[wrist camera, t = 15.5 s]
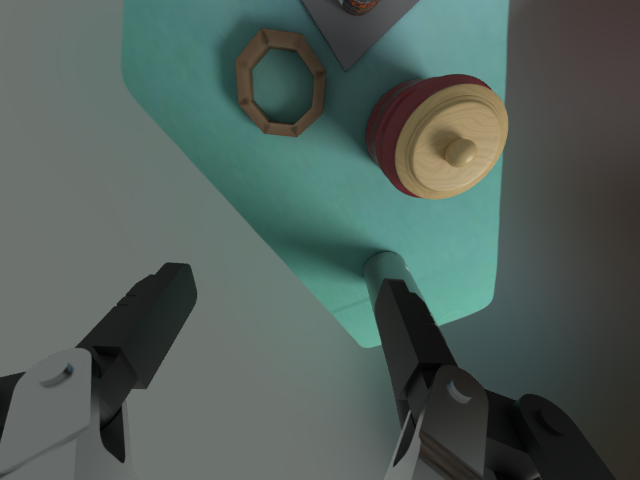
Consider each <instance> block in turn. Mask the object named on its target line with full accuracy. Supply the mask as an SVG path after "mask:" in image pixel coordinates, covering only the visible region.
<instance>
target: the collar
mask: <svg viewBox="0 0 640 480" xmlns="http://www.w3.org/2000/svg"><path fill="white" fill-rule="evenodd" d="M270 48H271V49H278V50H286V51H294V52H298V54H299V55H300V57H301V58H302V60H303V61H304V63H305V64H306V66H307V67H308V69H309V70H310V71H311V73H312V74H313V76H314V87H313V102H312V107H311V108H310V109H309V110H308V111H307V112H306V113H305V114H304V115H303V116H302V117H301V118H300V119H299V120H298V121H297V122H296V123H295V124H294V123H285V122H276V121H271V120H270V119H269V118H268V116H267V115H266V114H265V113H264V112H263V110H262V109H261V108H260V107H259V106H258V104H257V103H256V102H255V101H254V97H253V76H252V69H253V68H254V67H255V66H256V65H257V63H258V62H259V61H260V60H261V59H262V58H263V56H264V55H265V54H266V53H267V52H268V51H269V49H270ZM235 64H236V77H237V90H238V103H239V105H240V106H241V108H242V109H243V110H244V111H245V112H246V113H247V114H248V116H249V117H250V118H251V119H252V120H253V121H254V122H255V124H256V125H257V126H258V127H259V128H260V129H261V131H262V132H263V133H264V134H272V135H281V136H290V137H298V136H299V135H300V134H301V133H302V132H303V131H304V130H305V129H306V128H308V127H309V126H310V125H311V124H312V123H313V122H314V121H315V120H316V119H317V118H318V117H319V116H320V115H322V112H323V101H324V90H325V80H326V71H325V69H324V68H323V66H322V64H321V63H320V61H319V60H318V58H317V57H316V55H315V54H314V52H313V51H312V49H311V47H310V46H309V44H308V43H307V41H306V40H305V38H304V37H303V35H302V34H300V33H293V32H286V31H278V30H271V29H264V28H261V29H260V30H259V32H258V33H257V34H256V35H255V37H254V38H253V39H252V40H251V42H250V43H249V44H248V45H247V46H246V48H245V49H244V50H243V51H242V53H241V54H240V55H239V56H238V57H237V59H236V60H235Z"/></svg>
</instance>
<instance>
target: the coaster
mask: <svg viewBox="0 0 640 480" xmlns="http://www.w3.org/2000/svg"><path fill="white" fill-rule="evenodd" d="M418 1H419V0H380V1H379V3H378V4H377V5H376V6H375V8H373V9H372V10H371V11H370V12H368V13H367V14H364V15H361V16H354V15H351V14H349V13H347V12H346V11H345V10H343V8H342V7H341V6H340V4H339V2H338V0H302V2H303V4H304V5H305V7H306V8H307V10H308V12H309V13H310V15H311V17H312V18H313V20H314V22H315V23H316V25H317V27H318V28H319V30H320V31H321V33H322V35H323V36H324V38H325V40H326V41H327V43H328V45H329V46H330V48H331V49H332V51H333V53H334V54H335V56H336V58H337V59H338V61H339V63H340V64H341V66H342V67H343V69H344V71H345V72H346V71H347V70H348V69H349V68H350V67H351V66H352V65H353V64H354V63H355V62H356V61H357V60H358V59H359V58H360V57H361V56H362V55H363V54H364V53H365V52H366V51H367V50H368V49H370V48H371V47H372V46H373V45H374V44H375V43H376V42H377V41H378V40H379V39H380V38H381V37H382V36H383V35H384V34H385V33H386V32H387V31H388V30H389V29H390V28H391V27H392V26H393V25H394V24H395V23H396V22H398V21H399V20H400V19H401V18H402V17H403V16H404V15H405V14H406V13H407V12H408V11H409V10H410V9H411V8H412V7H413V6H414V5H415V4H416V3H417V2H418Z"/></svg>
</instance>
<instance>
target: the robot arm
mask: <svg viewBox="0 0 640 480" xmlns="http://www.w3.org/2000/svg"><path fill="white" fill-rule="evenodd" d="M363 273H364V277H365V281H366V285H367V289H368V293H369V297H370V301H371V305H372V308H373V312H374V316H375V320H376V324H377V328H378V331H379V335H380V339H381V343H382V347H383V350H384V354H385V358H386V361H387V365H388V369H389V373H390V377H391V382H392V386H393V391H394V395H395V401H396V406H397V410H398V415H399V421H400V425H401V430H402V432H401V435H400V438H399V441H398V444H397V446H396V450H395V452H394V455H393V458H392V461H391V464H390V467H389V469H388V471H387V474H386V476H385V477H384V479H383V480H541V479H540V478H539V476H541V478H542V480H616V479H615V477H614V476H613V475H612V473H611V472H610V471H609V469H608V468H607V467H606V465H605V464H604V463H603V461H602V460H601V459H600V457H599V456H598V454H597V453H596V452H595V450H594V449H593V447H592V446H591V445H590V443H589V442H588V441H587V439H586V438H585V437H584V435H583V434H582V433H581V431H580V430H579V428H578V427H577V426H576V424H575V423H574V422H573V421H572V420H571V418H570V417H569V416H568V415H567V414H566V413H564V412H563V411H562V410H561V409H560V408H559V407H558V406H556V405H555V404H553V403H552V402H550V401H549V400H547V399H545V398H543V397H541V396H538V395H534V394H525V395H523V396H522V397H521V398H519V399H518V400H517V401H516V400H513V399H510V398H507V397H505V396H502V395H499V394H496V393H494V392H491V391H489V390H486V389H484V388H483V386H482V385H481V384H480V383H479V382H478V381H477V380H476V379H475V378H474V377H473V376H472V375H471V374H470V373H468V372H467V371H465V370H464V369H462V368H460V367H458V365H457V364H456V362H455V360H454V358H453V356H452V354H451V352H450V350H449V348H448V346H447V344H446V341H445V338H444V336H443V334H442V332H441V330H440V329H439V327H438V325H437V323H436V321H435V319H434V317H433V315H432V313H431V312H430V310H429V308H428V306H427V304H426V302H425V300H424V298H423V296H422V294H421V292H420V290H419V288H418V286H417V285H416V283H415V281H414V279H413V277H412V275H411V273H410V271H409V269H408V267H407V265H406V263H405V261H404V259H403V258H402V257H401V256H400V255H398V254H396V253H393V252H381V253H378V254H376V255H374V256H372V257H371V258H369V259H368V260H367V261H366V263H365V265H364V268H363ZM196 300H197V289H196V286H195V281H194V277H193V274H192V270H191V267H190V265H189V264H184V263H165V264H164V265H163V266H162V267H161V268H160V270H159V271H158V272H157V273H156V274H155V275H149V276H147V277H146V278H144V279H143V280H141V281H139V282H138V283H136V284H135V286H133V287H132V288H131V290H130V291H129V292H128V293H127V294H126V296H125V297H123V298H122V299H121V300H120V301H119V302H118V303H117V306H114V307H113V308H112V309H111V311H110V312H109V313H108V314H107V315H106V316H105V317H104V318H103V319H102V320H101V321H100V322H99V323H98V324H97V325H96V326H95V327H94V328H93V329H92V331H91V332H90V333H89V334H88V335H87V336H86V337H85V338H84V339H83V340H82V341H81V342H80V343H79V344H78V345H77V346H76V347H75V348H72V349H67V350H63V351H60V352H57V353H55V354H53V355H51V356H48V357H47V358H45V359H43V360H42V361H40V362H38V363H37V364H36V365H34V366H33V367H32V368H30V369H29V370H28V371H27V372H22V373H18V374H13V375H9V376H5V377H0V480H137V477H136V474H135V472H134V470H133V465H132V458H131V446H130V434H129V423H128V410H127V402H126V400H125V399H126V397H127V396H128V394H129V393H130V391H131V389H147V387H148V385H149V384H150V382H151V380H152V379H153V377H154V375H155V373H156V371H157V370H158V368H159V366H160V365H161V363H162V361H163V360H164V358H165V356H166V354H167V353H168V351H169V349H170V347H171V346H172V344H173V342H174V340H175V339H176V337H177V335H178V333H179V332H180V330H181V328H182V327H183V325H184V323H185V321H186V320H187V318H188V316H189V314H190V313H191V311H192V309H193V307H194V306H195V303H196Z"/></svg>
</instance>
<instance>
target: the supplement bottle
mask: <svg viewBox="0 0 640 480" xmlns="http://www.w3.org/2000/svg"><path fill="white" fill-rule="evenodd" d="M379 1H380V0H338V2H339V4H340V6H341V7H342V8H343V10H345V11H346V12H347V13H349V14H351V15H354V16H361V15H364V14H367V13H368V12H370V11H371V10H372V9H373V8H375V6H376V5H377V4H378V3H379Z"/></svg>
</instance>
